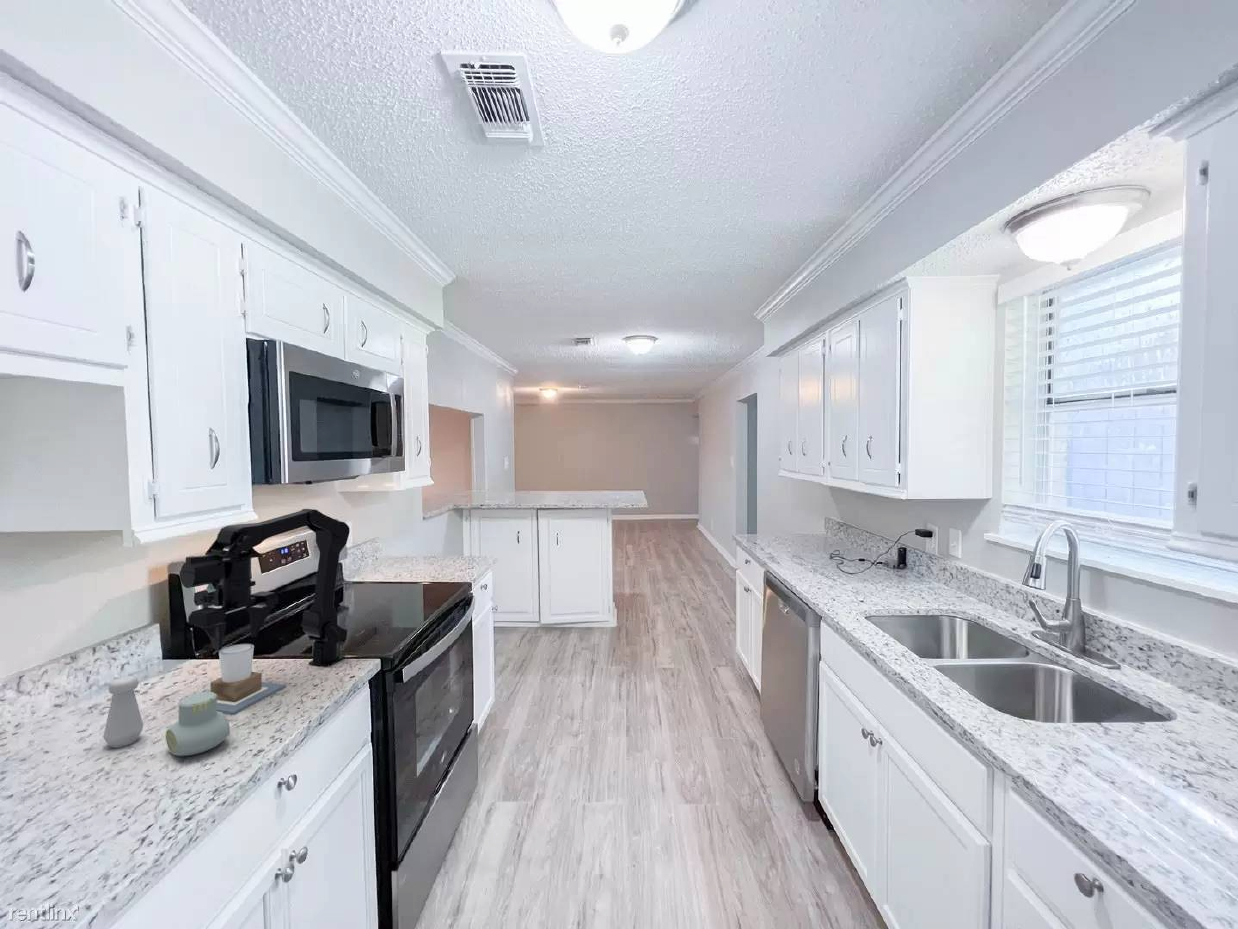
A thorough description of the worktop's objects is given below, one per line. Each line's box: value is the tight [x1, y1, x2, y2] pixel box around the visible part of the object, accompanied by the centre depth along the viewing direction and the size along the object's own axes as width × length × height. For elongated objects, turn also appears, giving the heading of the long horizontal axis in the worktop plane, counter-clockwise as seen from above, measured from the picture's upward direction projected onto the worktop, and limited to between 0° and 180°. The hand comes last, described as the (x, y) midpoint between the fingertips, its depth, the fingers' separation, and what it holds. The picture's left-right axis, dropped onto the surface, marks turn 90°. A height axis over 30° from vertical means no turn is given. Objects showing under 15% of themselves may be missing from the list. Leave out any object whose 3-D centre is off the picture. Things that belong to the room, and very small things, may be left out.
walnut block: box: [209, 671, 263, 702], centre depth 124 cm, size 7×7×4 cm
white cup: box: [218, 643, 255, 683], centre depth 124 cm, size 7×7×7 cm
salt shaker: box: [102, 675, 144, 749], centre depth 104 cm, size 6×6×13 cm
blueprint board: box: [217, 681, 287, 715], centre depth 124 cm, size 14×14×1 cm
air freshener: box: [165, 691, 231, 757], centre depth 103 cm, size 11×8×10 cm
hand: (236, 643), depth 124 cm, fingers open, 9 cm apart
